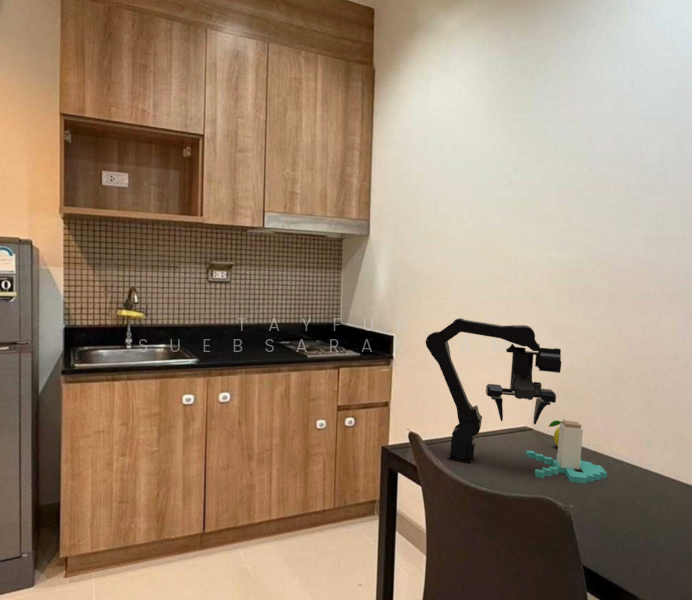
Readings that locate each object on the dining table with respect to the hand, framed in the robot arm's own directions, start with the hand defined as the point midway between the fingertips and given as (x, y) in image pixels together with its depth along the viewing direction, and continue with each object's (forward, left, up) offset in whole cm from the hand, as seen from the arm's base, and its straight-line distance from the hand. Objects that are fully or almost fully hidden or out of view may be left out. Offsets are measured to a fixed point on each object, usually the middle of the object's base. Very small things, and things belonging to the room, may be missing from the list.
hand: (517, 422), depth 153 cm
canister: (+14, +7, -12) cm, 19 cm away
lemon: (+11, +29, -13) cm, 34 cm away
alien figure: (+14, +7, -14) cm, 21 cm away
